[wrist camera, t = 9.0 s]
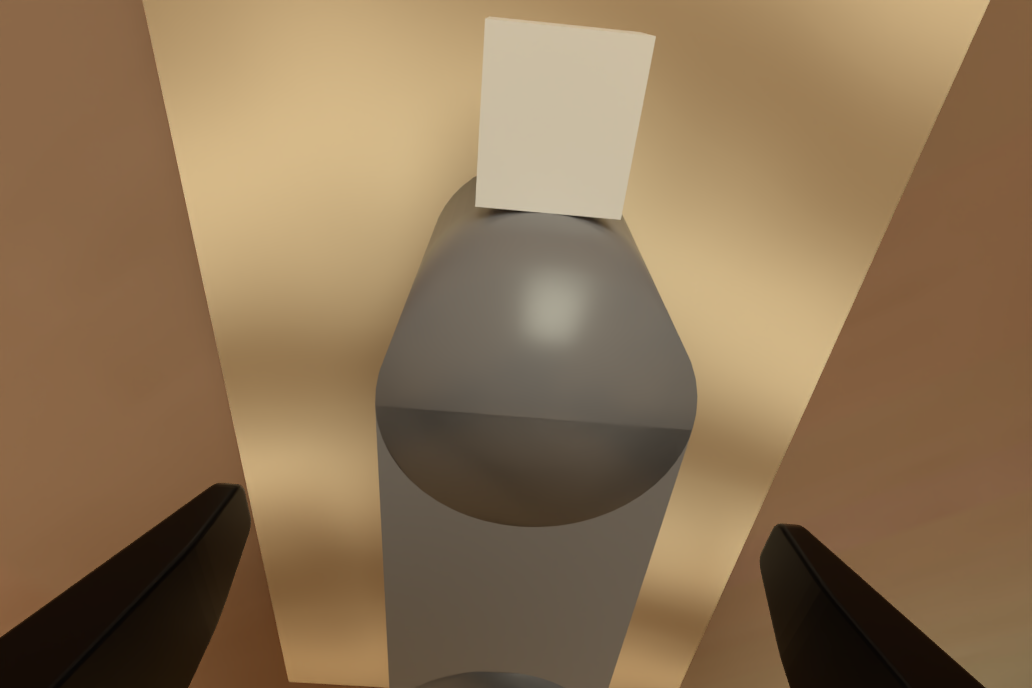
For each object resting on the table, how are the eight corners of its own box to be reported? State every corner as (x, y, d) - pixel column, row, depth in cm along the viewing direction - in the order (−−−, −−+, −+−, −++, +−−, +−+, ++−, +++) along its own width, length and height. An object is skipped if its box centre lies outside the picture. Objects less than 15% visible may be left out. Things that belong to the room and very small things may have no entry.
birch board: (663, 666, 19) (671, 704, 18) (301, 643, 18) (288, 681, 17) (1038, -248, 8) (1119, -287, 7) (118, -368, 7) (49, -431, 6)
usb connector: (564, 580, 15) (579, 778, 11) (426, 571, 15) (393, 768, 11) (680, 32, 8) (813, 59, 4) (432, 7, 8) (355, 11, 4)
